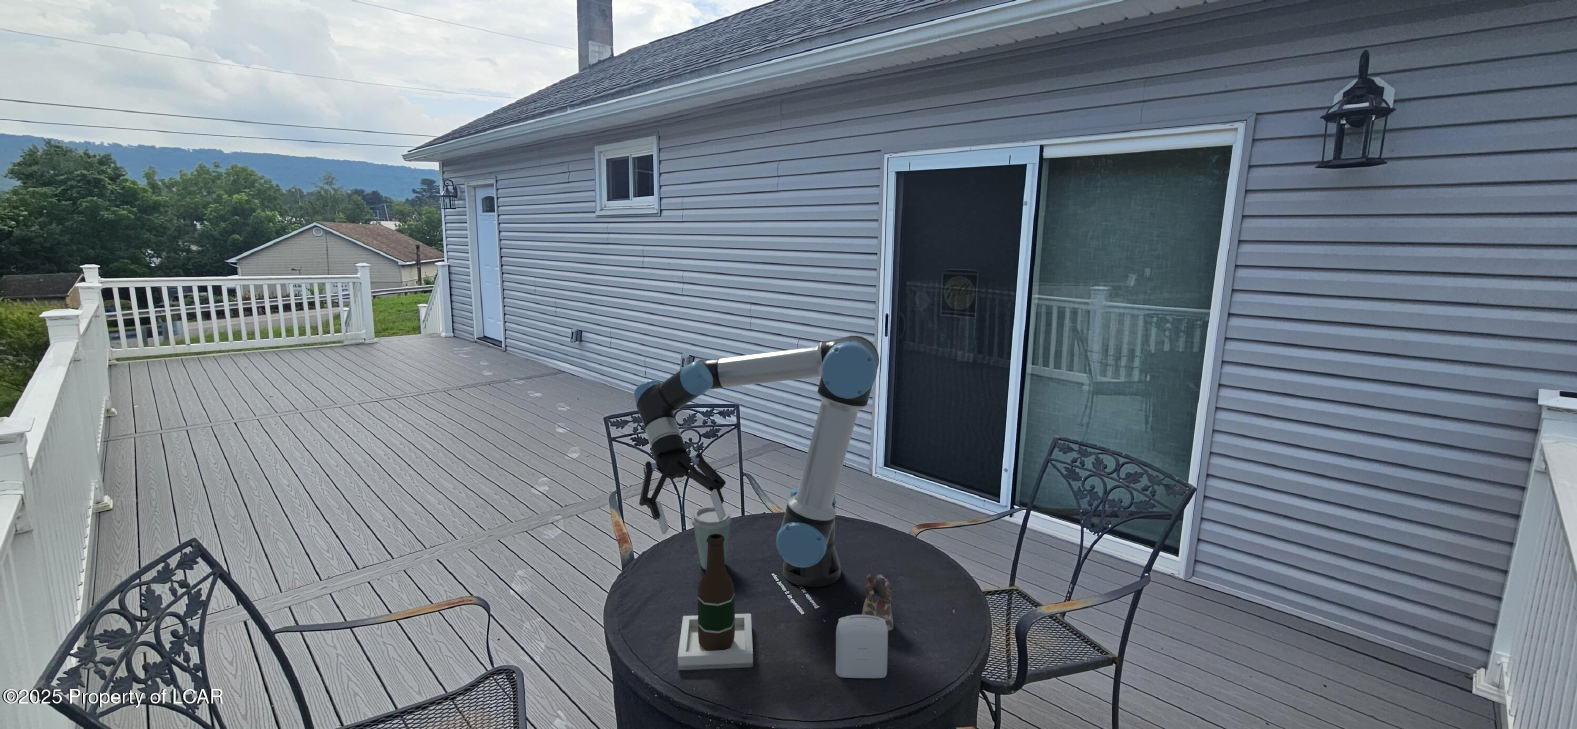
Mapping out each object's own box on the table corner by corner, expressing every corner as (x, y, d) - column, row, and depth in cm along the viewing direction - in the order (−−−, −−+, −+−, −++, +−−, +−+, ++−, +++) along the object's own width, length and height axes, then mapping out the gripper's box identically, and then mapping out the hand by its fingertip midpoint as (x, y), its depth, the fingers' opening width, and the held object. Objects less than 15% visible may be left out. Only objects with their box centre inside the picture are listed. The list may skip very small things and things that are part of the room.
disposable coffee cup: (740, 563, 180) (740, 510, 177) (715, 579, 171) (714, 524, 168) (709, 553, 185) (708, 501, 183) (683, 568, 176) (682, 514, 174)
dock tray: (750, 625, 150) (750, 613, 149) (752, 667, 135) (752, 653, 135) (683, 628, 149) (683, 616, 148) (678, 670, 134) (677, 656, 133)
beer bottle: (719, 657, 136) (718, 547, 132) (690, 645, 141) (688, 538, 136) (742, 639, 143) (741, 533, 139) (713, 628, 147) (712, 525, 143)
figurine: (892, 635, 147) (894, 584, 145) (860, 631, 148) (861, 581, 146) (893, 618, 154) (895, 569, 151) (863, 614, 155) (864, 566, 153)
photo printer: (835, 679, 132) (836, 621, 129) (834, 666, 136) (836, 610, 134) (888, 681, 131) (890, 623, 129) (885, 667, 135) (887, 611, 133)
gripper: (709, 441, 165) (739, 519, 155) (610, 458, 152) (636, 544, 142) (719, 425, 160) (750, 505, 150) (617, 441, 146) (644, 530, 136)
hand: (694, 524), depth 146 cm, fingers open, 13 cm apart
